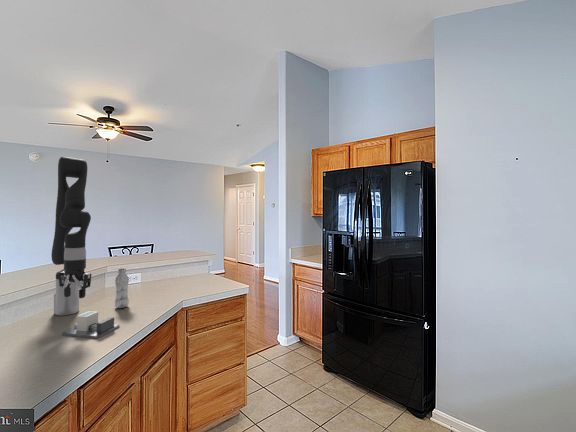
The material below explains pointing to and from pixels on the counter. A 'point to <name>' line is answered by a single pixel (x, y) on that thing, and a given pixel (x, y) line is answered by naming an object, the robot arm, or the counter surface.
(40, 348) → the counter surface
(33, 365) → the counter surface
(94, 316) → the block
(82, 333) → the rail plate
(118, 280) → the plastic bottle
